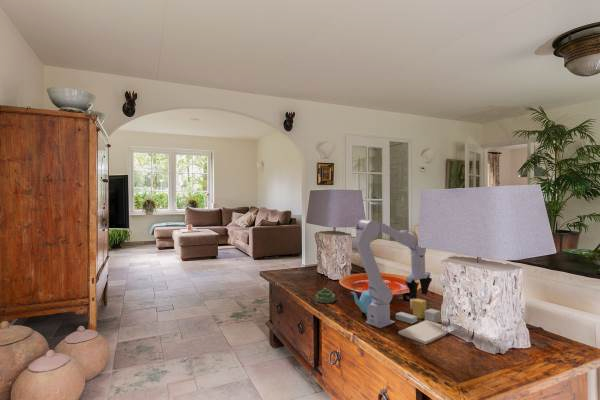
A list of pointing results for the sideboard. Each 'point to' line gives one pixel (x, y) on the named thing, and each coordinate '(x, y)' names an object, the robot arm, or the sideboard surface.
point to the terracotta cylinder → (411, 304)
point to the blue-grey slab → (406, 317)
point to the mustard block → (419, 308)
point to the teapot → (363, 300)
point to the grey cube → (433, 315)
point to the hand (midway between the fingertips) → (419, 295)
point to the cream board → (424, 332)
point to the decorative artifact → (325, 296)
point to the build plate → (406, 297)
